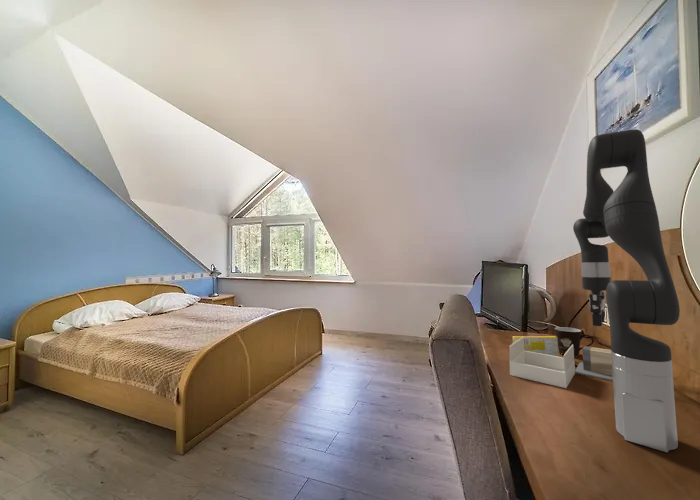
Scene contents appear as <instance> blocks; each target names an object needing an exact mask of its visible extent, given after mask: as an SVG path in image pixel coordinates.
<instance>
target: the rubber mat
mask: <svg viewBox="0 0 700 500" xmlns="http://www.w3.org/2000/svg"><path fill="white" fill-rule="evenodd" d="M579 374H580V375H579ZM574 375H579V376H584V375H585V377H589V376H590V378H594V377H595V378H594V379H600V380H604V381H609V382H613V375H608V374H602V373H597V372H592V371H587V370H584V367H583V361H580V362H579V363H578V365H577V366H576V367H575V374H574Z"/></svg>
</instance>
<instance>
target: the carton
mask: <svg viewBox="0 0 700 500" xmlns="http://www.w3.org/2000/svg"><path fill="white" fill-rule="evenodd" d="M508 348H509V350H508V352H509V375H510V376H512V377H516V378H521V379H525V380H530V381H534V382H537V383H542V384H547V385H551V386H554V387H558V388H559V387H560V388H564V389H567V388H568V386H569V385H570V383H571V382H572V380H573V377H574V376H575V375H576V374H575V370H576V366H575V365H576V364H575V357H574V347H573V345H571V347H570V348H569V349H568V350H567V351H566V353H565V354H564V355H562V356H563V357H562V356H559V357H557V356H552V355H546V354H540V353H534V352H529V351H524V337H522V338H521V339H519V340H518V341H516V342H514V343H513V342H512V343H511V344H510V345H508Z"/></svg>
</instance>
